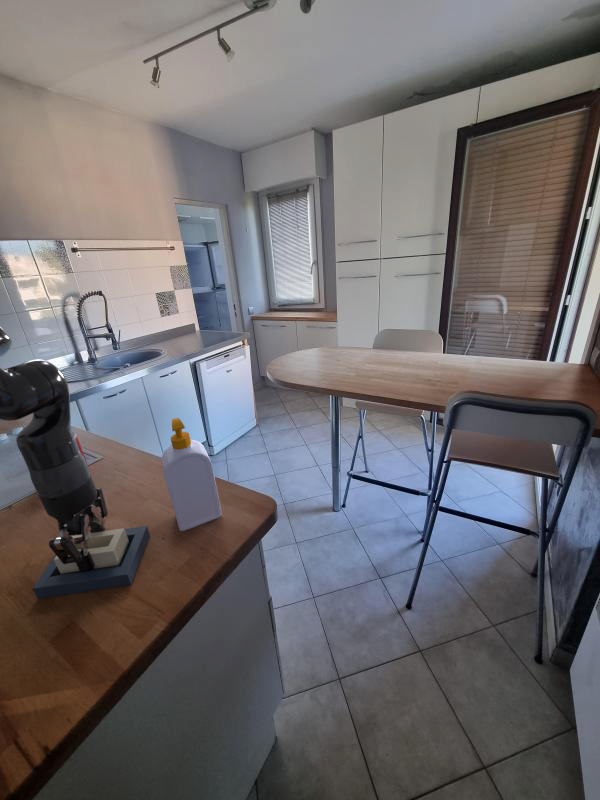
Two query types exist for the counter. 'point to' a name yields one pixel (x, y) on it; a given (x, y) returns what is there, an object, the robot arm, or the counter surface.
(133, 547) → the tray
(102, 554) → the frame
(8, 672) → the counter surface
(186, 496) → the soap bottle
